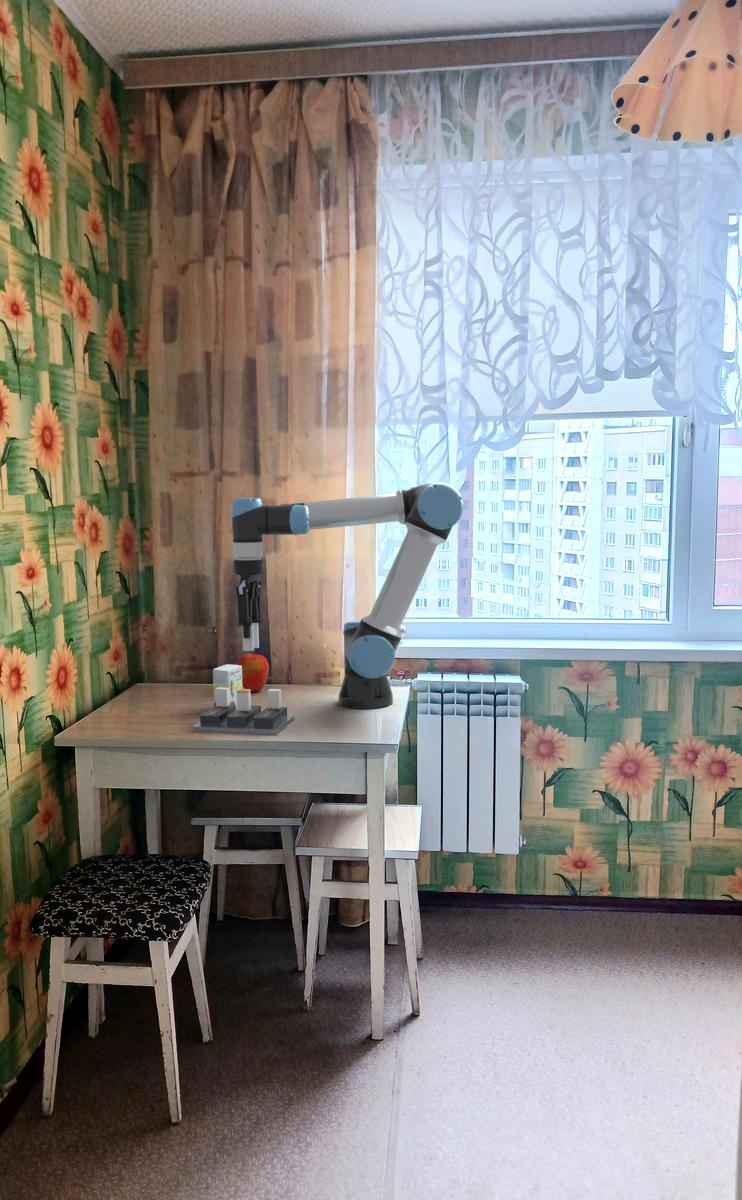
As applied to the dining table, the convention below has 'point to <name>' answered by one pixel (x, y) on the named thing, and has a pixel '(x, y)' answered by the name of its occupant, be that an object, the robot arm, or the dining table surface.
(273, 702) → the handle
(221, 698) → the handle
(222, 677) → the ink box
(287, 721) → the panel
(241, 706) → the handle mid
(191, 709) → the dining table surface
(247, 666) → the apple
